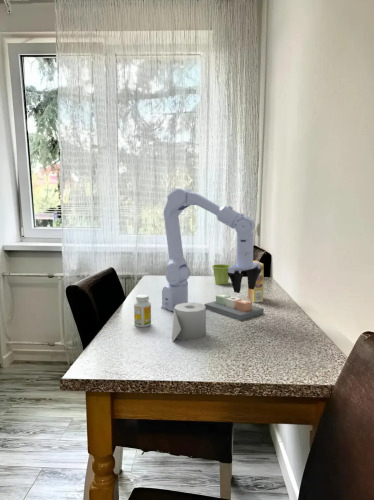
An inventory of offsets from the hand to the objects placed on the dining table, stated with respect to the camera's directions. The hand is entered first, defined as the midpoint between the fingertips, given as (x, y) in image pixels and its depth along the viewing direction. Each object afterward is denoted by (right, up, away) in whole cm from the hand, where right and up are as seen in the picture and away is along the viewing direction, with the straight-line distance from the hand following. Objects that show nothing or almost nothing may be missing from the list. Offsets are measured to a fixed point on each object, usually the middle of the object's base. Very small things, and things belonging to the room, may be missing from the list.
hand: (244, 290), depth 127 cm
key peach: (0, -7, 0) cm, 7 cm away
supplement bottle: (-34, -10, -9) cm, 37 cm away
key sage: (-7, -6, +8) cm, 12 cm away
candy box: (+7, -6, +20) cm, 22 cm away
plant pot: (-3, -2, +48) cm, 48 cm away
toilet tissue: (-20, -12, -19) cm, 30 cm away
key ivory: (-3, -6, +4) cm, 8 cm away
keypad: (-3, -8, +5) cm, 10 cm away
